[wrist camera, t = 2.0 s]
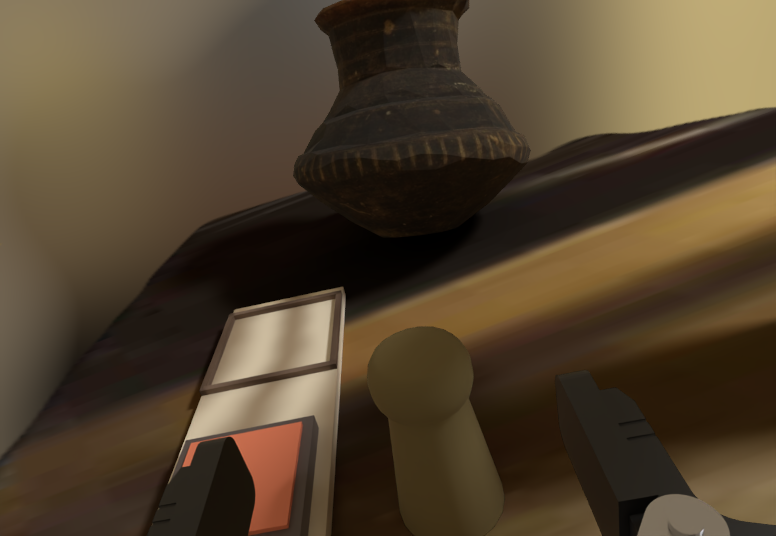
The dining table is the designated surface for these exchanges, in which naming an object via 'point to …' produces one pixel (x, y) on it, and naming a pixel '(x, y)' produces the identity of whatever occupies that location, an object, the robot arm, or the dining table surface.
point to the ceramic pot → (406, 122)
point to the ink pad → (274, 472)
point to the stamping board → (280, 380)
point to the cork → (435, 434)
